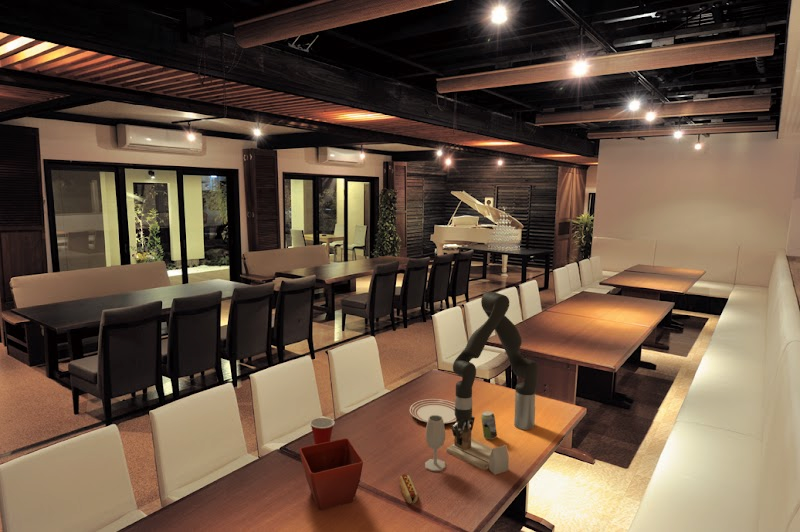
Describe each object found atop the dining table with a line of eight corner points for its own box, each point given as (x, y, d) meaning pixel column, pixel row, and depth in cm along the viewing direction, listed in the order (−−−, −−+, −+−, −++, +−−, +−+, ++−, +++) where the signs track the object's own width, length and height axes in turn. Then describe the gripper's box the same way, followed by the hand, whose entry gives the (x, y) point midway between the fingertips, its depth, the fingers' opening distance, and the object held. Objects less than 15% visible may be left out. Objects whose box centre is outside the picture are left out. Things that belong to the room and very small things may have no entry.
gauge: (457, 441, 219) (457, 424, 217) (470, 447, 213) (471, 429, 212) (451, 444, 216) (451, 427, 215) (465, 450, 210) (465, 433, 209)
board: (466, 441, 223) (466, 436, 222) (504, 457, 208) (504, 453, 208) (446, 452, 213) (446, 447, 213) (484, 470, 199) (484, 465, 198)
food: (420, 504, 177) (420, 492, 176) (406, 507, 176) (406, 494, 175) (410, 483, 190) (410, 471, 190) (397, 485, 189) (397, 473, 188)
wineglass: (448, 462, 204) (448, 415, 201) (442, 473, 196) (443, 424, 193) (427, 459, 207) (428, 412, 204) (421, 470, 199) (422, 421, 196)
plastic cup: (340, 446, 217) (339, 421, 215) (320, 456, 209) (320, 429, 208) (324, 438, 225) (324, 413, 223) (305, 447, 217) (304, 421, 215)
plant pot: (312, 519, 169) (310, 473, 166) (300, 489, 186) (298, 447, 184) (364, 505, 176) (364, 461, 174) (348, 477, 194) (347, 437, 191)
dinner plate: (472, 412, 253) (472, 406, 252) (448, 433, 230) (448, 427, 229) (426, 400, 267) (426, 394, 267) (399, 419, 244) (399, 413, 244)
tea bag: (508, 470, 199) (509, 447, 197) (494, 474, 196) (495, 451, 194) (502, 466, 202) (503, 443, 201) (489, 470, 199) (489, 447, 198)
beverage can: (496, 441, 222) (497, 416, 220) (480, 439, 224) (481, 415, 222) (496, 435, 228) (497, 410, 227) (480, 433, 230) (481, 409, 228)
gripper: (466, 398, 219) (466, 434, 221) (446, 407, 209) (445, 445, 211) (480, 403, 213) (479, 440, 216) (459, 413, 204) (459, 451, 206)
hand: (462, 442), depth 214 cm, fingers closed on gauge, 4 cm apart
